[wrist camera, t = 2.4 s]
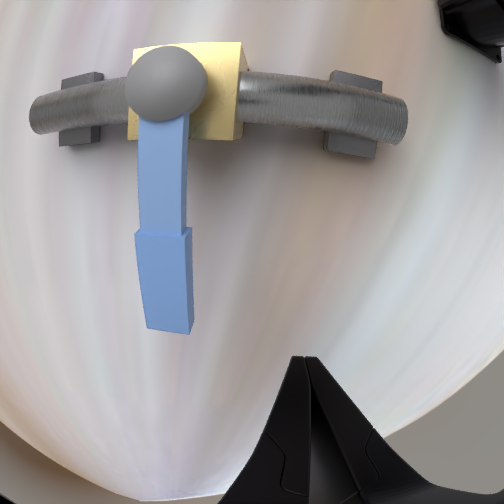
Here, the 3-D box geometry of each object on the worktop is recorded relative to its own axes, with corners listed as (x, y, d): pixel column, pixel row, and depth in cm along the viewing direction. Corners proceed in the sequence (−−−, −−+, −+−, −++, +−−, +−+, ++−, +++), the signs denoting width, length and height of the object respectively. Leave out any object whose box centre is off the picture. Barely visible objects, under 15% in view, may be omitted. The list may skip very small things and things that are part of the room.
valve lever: (141, 56, 9) (128, 50, 8) (211, 51, 9) (205, 42, 8) (147, 312, 14) (139, 326, 13) (202, 320, 14) (197, 335, 13)
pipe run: (382, 86, 14) (432, 72, 8) (374, 158, 16) (422, 175, 11) (66, 82, 14) (8, 79, 9) (64, 145, 16) (6, 159, 11)
